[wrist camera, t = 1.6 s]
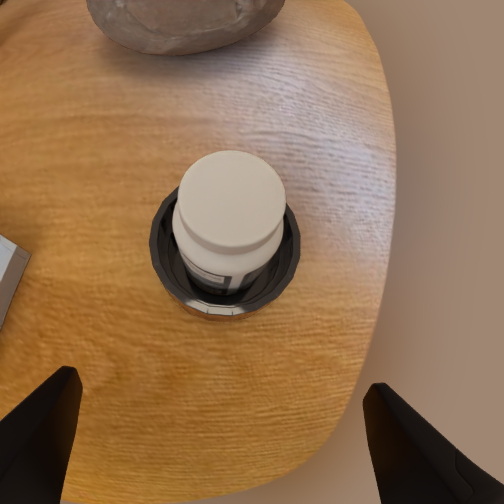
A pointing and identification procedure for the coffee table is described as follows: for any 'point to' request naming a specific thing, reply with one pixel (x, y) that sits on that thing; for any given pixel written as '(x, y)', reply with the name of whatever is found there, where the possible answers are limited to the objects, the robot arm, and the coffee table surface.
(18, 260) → the serving dish
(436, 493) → the robot arm
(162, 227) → the charcoal bowl
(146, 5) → the clay pot
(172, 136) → the coffee table surface
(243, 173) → the pill bottle
